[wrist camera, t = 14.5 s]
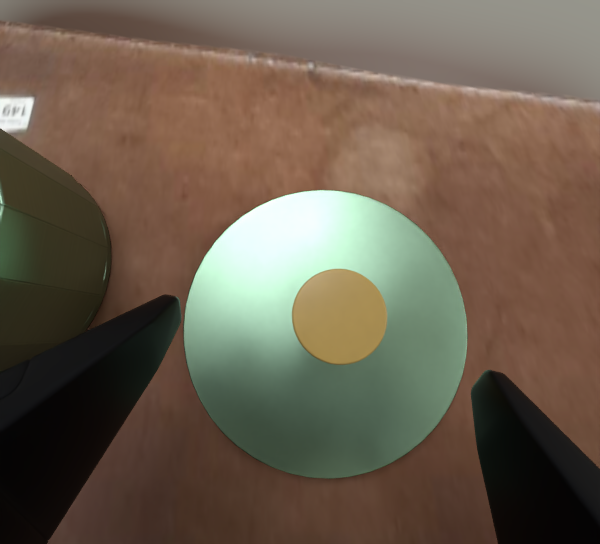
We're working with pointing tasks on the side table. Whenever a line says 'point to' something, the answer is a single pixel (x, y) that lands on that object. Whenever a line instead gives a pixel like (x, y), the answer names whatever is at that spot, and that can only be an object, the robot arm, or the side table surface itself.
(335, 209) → the tin lid
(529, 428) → the robot arm
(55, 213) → the tin
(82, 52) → the side table surface
